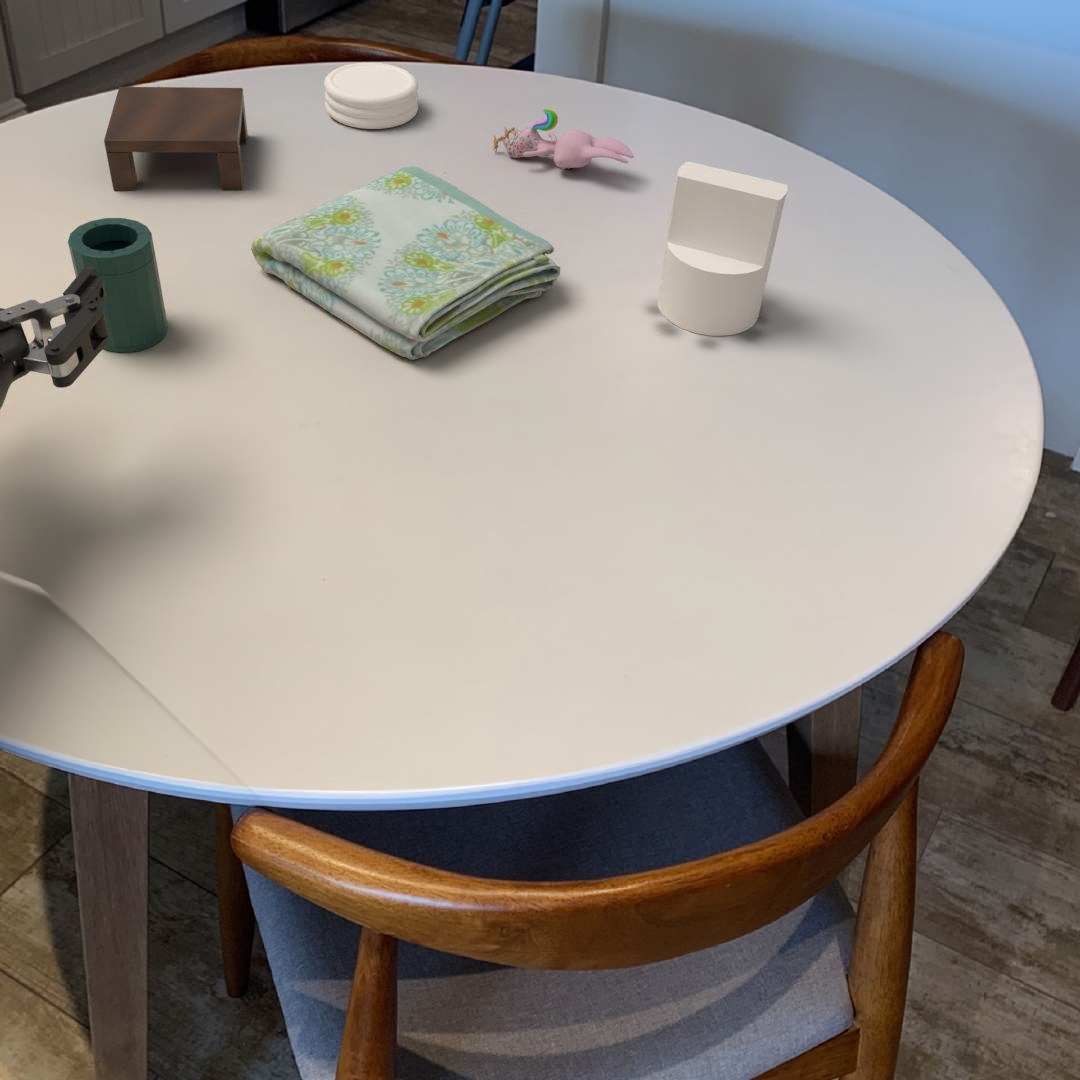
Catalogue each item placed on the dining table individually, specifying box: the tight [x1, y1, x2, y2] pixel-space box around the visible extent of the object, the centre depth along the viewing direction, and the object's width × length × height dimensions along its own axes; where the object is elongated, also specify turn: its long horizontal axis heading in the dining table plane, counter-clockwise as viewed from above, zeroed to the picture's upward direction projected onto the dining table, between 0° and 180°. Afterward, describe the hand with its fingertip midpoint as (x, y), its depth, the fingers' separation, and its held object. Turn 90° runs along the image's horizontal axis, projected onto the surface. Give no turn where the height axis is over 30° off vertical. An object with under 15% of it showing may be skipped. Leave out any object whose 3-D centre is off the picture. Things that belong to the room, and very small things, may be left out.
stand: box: [103, 86, 249, 191], centre depth 115 cm, size 12×12×5 cm
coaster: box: [323, 62, 419, 130], centre depth 127 cm, size 10×10×4 cm
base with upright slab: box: [657, 160, 789, 337], centre depth 100 cm, size 9×9×12 cm
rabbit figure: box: [492, 108, 635, 169], centre depth 120 cm, size 6×6×15 cm
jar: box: [67, 217, 168, 353], centre depth 93 cm, size 6×6×8 cm
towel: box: [250, 165, 561, 361], centre depth 102 cm, size 18×21×5 cm
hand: (33, 271), depth 79 cm, fingers open, 8 cm apart
